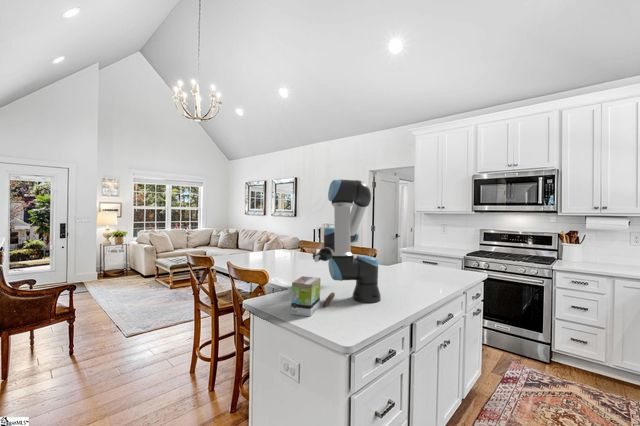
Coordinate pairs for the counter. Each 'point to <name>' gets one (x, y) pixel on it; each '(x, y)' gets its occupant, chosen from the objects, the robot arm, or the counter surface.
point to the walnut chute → (328, 299)
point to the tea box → (305, 296)
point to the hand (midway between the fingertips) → (316, 259)
